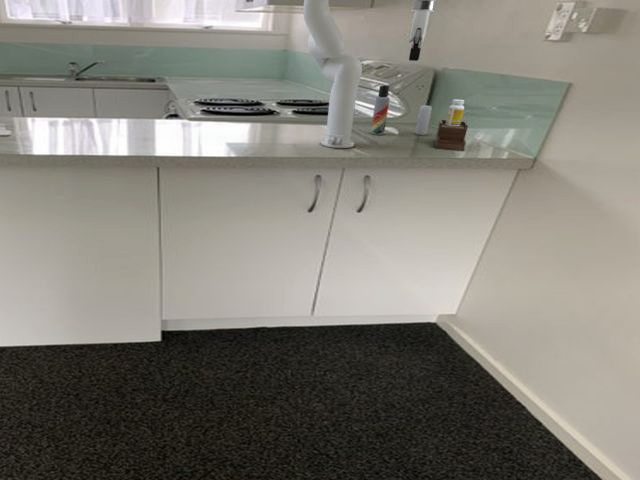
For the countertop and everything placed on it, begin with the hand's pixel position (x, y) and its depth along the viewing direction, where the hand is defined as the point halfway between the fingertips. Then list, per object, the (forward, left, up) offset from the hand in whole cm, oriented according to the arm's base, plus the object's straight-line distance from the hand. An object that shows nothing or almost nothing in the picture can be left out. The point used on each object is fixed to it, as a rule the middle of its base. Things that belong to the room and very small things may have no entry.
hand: (413, 60), depth 158 cm
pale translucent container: (+20, -8, -31) cm, 37 cm away
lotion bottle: (+12, +10, -31) cm, 34 cm away
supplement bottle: (+4, -19, -23) cm, 30 cm away
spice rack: (+2, -19, -30) cm, 36 cm away
